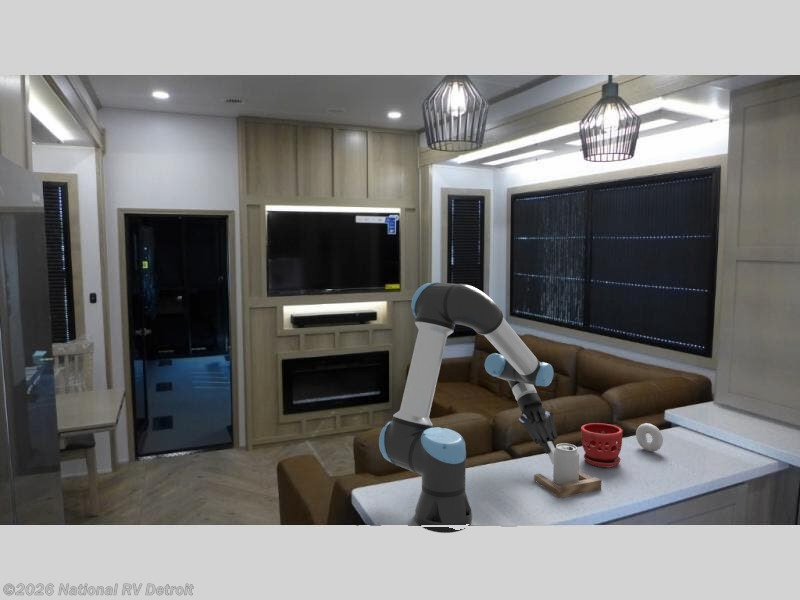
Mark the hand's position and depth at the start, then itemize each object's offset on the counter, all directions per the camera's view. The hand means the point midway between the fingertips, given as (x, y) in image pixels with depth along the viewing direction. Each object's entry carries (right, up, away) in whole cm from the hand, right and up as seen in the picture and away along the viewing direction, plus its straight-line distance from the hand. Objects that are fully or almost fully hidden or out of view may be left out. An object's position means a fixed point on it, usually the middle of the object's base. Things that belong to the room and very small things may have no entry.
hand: (556, 462), depth 167 cm
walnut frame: (+2, -5, -5) cm, 7 cm away
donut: (+40, -3, +22) cm, 46 cm away
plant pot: (+19, -4, +13) cm, 23 cm away
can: (+2, -6, -4) cm, 7 cm away
